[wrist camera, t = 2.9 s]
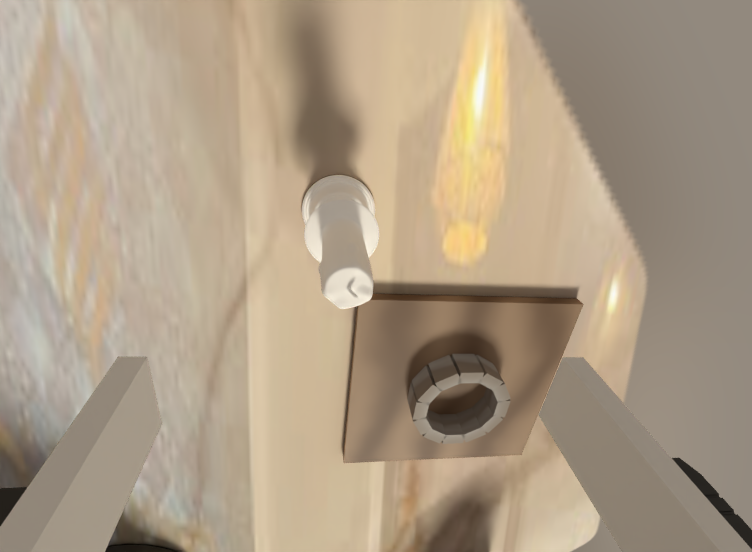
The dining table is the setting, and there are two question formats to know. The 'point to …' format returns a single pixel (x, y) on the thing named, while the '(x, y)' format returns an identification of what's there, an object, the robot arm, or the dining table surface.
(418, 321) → the flange board
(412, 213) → the dining table surface
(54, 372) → the dining table surface
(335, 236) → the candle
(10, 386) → the dining table surface
